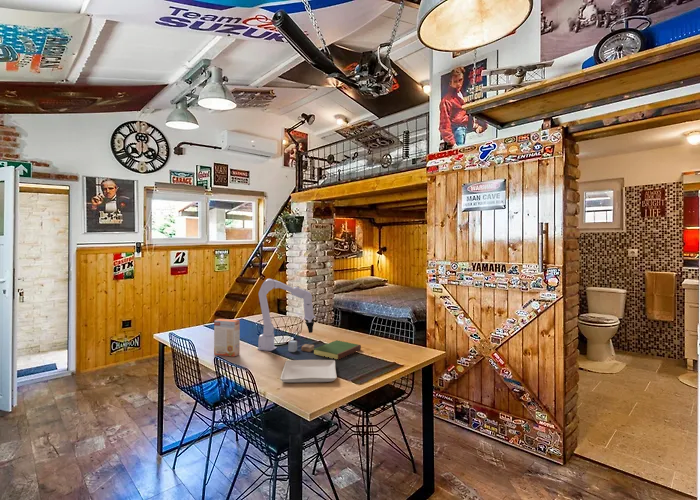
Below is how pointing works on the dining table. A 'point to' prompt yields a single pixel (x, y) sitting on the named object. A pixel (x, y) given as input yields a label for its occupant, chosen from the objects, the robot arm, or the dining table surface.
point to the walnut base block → (307, 347)
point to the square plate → (309, 371)
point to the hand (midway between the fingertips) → (310, 331)
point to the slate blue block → (292, 346)
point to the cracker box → (227, 337)
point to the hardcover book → (337, 349)
